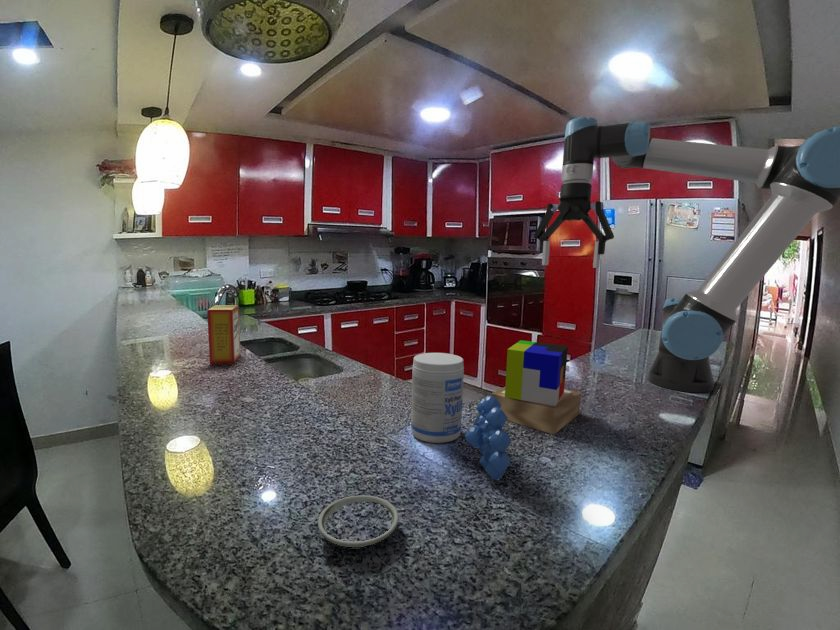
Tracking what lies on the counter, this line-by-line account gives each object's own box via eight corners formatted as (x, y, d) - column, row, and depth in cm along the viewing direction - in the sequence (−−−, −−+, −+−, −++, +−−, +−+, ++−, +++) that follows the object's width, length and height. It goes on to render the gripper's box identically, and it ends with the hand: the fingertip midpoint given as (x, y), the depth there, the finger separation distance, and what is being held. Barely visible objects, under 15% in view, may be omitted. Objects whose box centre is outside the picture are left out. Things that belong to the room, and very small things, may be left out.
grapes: (454, 454, 73) (457, 386, 71) (493, 453, 74) (497, 386, 72) (472, 493, 61) (476, 413, 60) (517, 491, 62) (523, 412, 61)
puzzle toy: (555, 406, 83) (559, 356, 81) (504, 397, 87) (507, 349, 86) (564, 391, 91) (567, 346, 90) (517, 383, 96) (520, 340, 94)
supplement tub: (454, 449, 75) (458, 367, 73) (403, 440, 78) (405, 361, 75) (465, 427, 84) (469, 354, 82) (419, 420, 87) (421, 349, 85)
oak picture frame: (579, 413, 93) (581, 391, 92) (554, 434, 82) (556, 409, 81) (519, 398, 101) (521, 377, 101) (489, 415, 91) (491, 392, 90)
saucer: (393, 508, 58) (394, 491, 58) (402, 558, 49) (403, 539, 48) (320, 513, 56) (320, 496, 56) (315, 567, 47) (315, 547, 47)
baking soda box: (234, 362, 125) (231, 308, 122) (209, 363, 123) (207, 308, 121) (240, 354, 134) (238, 304, 131) (217, 355, 132) (215, 304, 130)
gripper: (524, 184, 115) (519, 264, 118) (624, 177, 100) (615, 269, 103) (536, 188, 121) (531, 264, 124) (632, 181, 106) (623, 268, 109)
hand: (569, 266), depth 114 cm, fingers open, 13 cm apart
